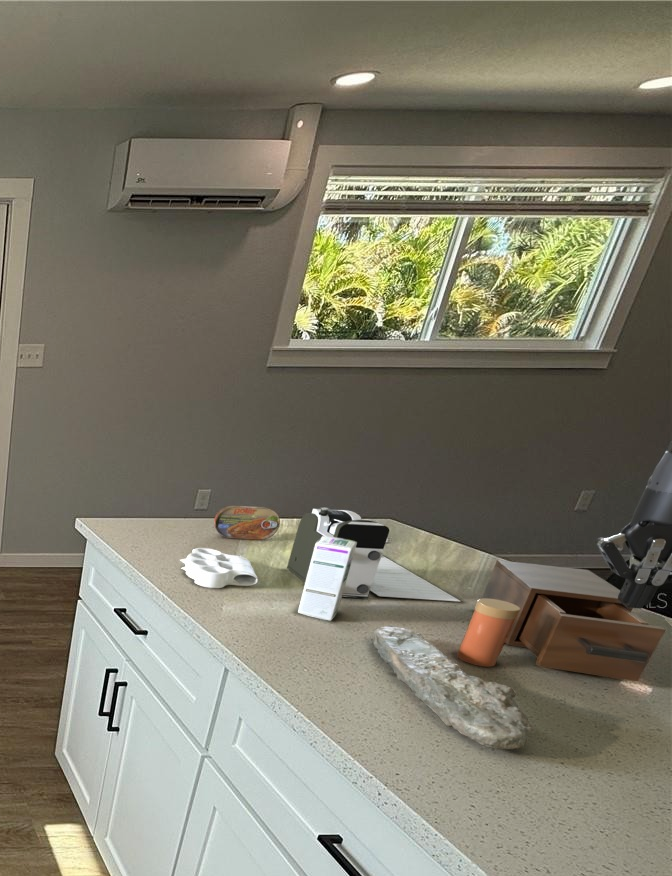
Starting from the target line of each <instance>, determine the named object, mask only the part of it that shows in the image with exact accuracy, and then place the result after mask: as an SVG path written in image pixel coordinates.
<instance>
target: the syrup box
mask: <svg viewBox="0 0 672 876" xmlns="http://www.w3.org/2000/svg"><path fill="white" fill-rule="evenodd" d="M356 544H357V542H356V541H352V540H347V539H343V538H336V537H325V536H322V537H321V539H319V540H318V541H317V542H316V544H315V548H314V552H313V555H312V559H311V563H310V566H309V570H308V574H307V578H306V582H305V583H304V586H303V588H302V589H303V590H302V594H301V597H300V602H299V605H298V609H297V613H298V614H300V615H303V616H308V617H312V618H316V619H320V620H324V621H330V622H331V621H333V619H334V618H335V617H336V615H337V613H338V611H339V607H340V604H341V601H342V597H343V596H342V594H343V591H344V587H345V584H346V580H347V576H348V573H349V569H350V566H351V562H352V559H353V555H354V551H355V548H356Z"/></svg>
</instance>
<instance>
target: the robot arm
mask: <svg viewBox="0 0 672 876" xmlns="http://www.w3.org/2000/svg"><path fill="white" fill-rule="evenodd" d="M594 544H595V546H596V548H597V549H598V551H599V552H600V554H601V555H602V557H603V559H604V561H605V563H606V565H608V567H609V569H610V571H611V572H613V573H614V574H616V575H617V576H619V577H621V578H624V579H625V581H624V583H623V585H622V587H621V588H620V593H619V595H618V600H620V601H621V604H622V605H624V606H625V607H630V608H633V609H640V610H641V609H643V607H644V606H649V604H651V602H652V601H653V599H654V596H655V595H656V593H657V591H658V589H659V587H660V586H663V585H664V584H671V583H672V439H671V440H670V442H669V445H668V446H667V449H666V450H665V452H664V454H663V456H662V458H660V461H659V462H658V463H657V464H656V466H655V468H654V469H653V472H652V474H651V475H650V477H649V478H648V480H647V485H646V487H645V489H644V490H643V493H642V495H641V497H640V499H639V501H638V504H637V506H636V508H635V510H634V512H633V514H632V518H631V521H630V522H629V523H628V524H627V525H625V526H624V527H622V528H621V530H620V533H618V534H615V535H612V536H610V537H601V536H600V537H598V538H596V539H595V540H594ZM624 544H625V545H626V547H627V549H628V551H629V552H630V557H629V565H628V564H627V562H626V560H625V558H624V556H623V555H622V553H621V552H622V551H623V550H624V548H625V547H624Z"/></svg>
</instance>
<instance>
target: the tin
mask: <svg viewBox="0 0 672 876" xmlns="http://www.w3.org/2000/svg"><path fill="white" fill-rule="evenodd" d="M280 525H281V519H280V516H279V514H278V513H277V511H275V510H274V509H271V508H269V507H264V506H244V505H229V506H226V507H223V508H221V509H220V510H219V511H218V512H217V513H216V514H215V516H214V520H213V527H214V529H215V530H216V532H217V534H219V535H220V536H221V537H223V538H226V539H235V540H236V539H238V540H255V541H262V540H267V539H269V538H271V537H273V536H274V535H275V534H276V533H277V532H278V530H279V529H280Z"/></svg>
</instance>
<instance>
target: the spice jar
mask: <svg viewBox="0 0 672 876" xmlns="http://www.w3.org/2000/svg"><path fill="white" fill-rule="evenodd" d="M519 611H520V608H519V607H518V606H517V605H514V604H512V603H509V602H506V601H502V600H496V599H487V598H484V599H481V598H479V599H477V601H476V603H475V606H474V611H473V613H472V616H471V618H470V621H469V622H468V623H469V624H468V627H467V628H466V631H465V633H464V636H463V638H462V641H461V644H460V646H459V649H458V650H457V654H456V657H457V658H458V659H459V660H461V661H463V662H465V663H467V664H471V665H475V666H479V667H487V668H488V667H489V668H490V667H494V666H496V664H497V661H498V659H499V657H500V655H501V652H502V651H503V648H504V645H505V644H506V643H505V641H506V639H507V636H508V634H509V632H510V629H511V627H512V625H513V622H514V620H515V618H516V617H517V615H518V613H519Z"/></svg>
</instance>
